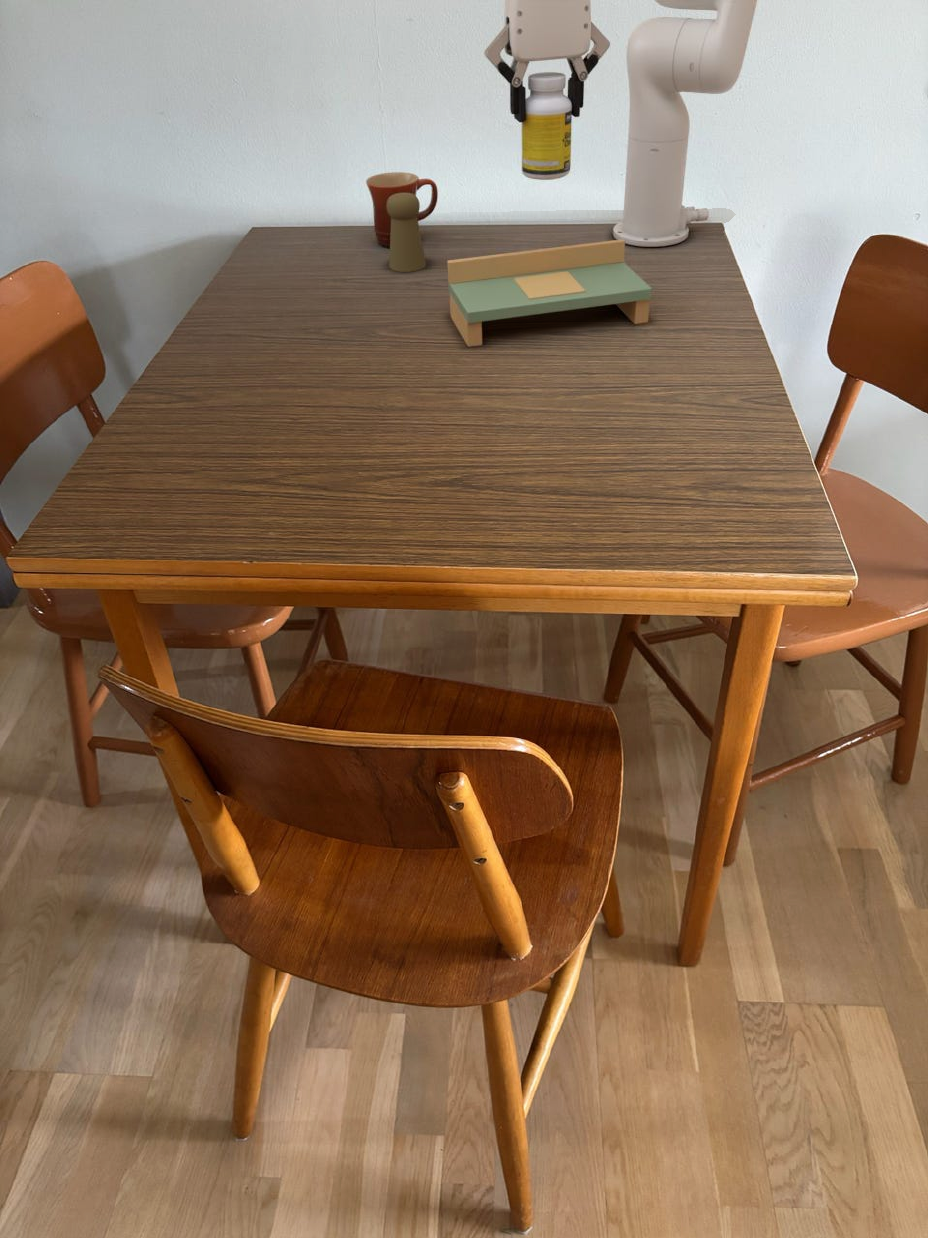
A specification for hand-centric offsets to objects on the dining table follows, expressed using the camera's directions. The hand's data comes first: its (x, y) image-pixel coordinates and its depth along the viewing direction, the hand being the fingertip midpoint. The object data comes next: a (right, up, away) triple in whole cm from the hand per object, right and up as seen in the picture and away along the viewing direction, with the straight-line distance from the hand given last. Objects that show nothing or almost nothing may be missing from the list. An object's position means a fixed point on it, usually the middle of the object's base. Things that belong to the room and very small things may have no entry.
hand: (546, 115), depth 122 cm
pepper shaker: (-20, -7, +34) cm, 40 cm away
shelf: (+1, -22, +14) cm, 26 cm away
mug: (-20, +1, +43) cm, 48 cm away
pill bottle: (0, -6, +5) cm, 7 cm away
